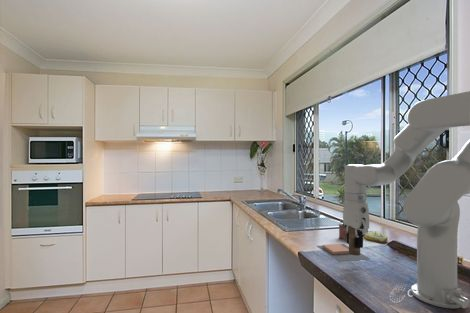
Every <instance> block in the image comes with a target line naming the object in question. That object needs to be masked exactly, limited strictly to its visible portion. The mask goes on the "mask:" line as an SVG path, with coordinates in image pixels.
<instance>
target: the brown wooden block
mask: <svg viewBox="0 0 470 313" xmlns="http://www.w3.org/2000/svg"><path fill="white" fill-rule="evenodd" d="M359 232H360V230H358V233H359ZM354 237H356V235H355V228H353V227H351V226H349V244H348V247H349V254H351V255H356V256H358V255H360V253H361V248H355V247H354Z"/></svg>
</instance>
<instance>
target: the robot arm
mask: <svg viewBox="0 0 470 313" xmlns="http://www.w3.org/2000/svg"><path fill="white" fill-rule="evenodd" d="M406 117H407V123H408V124H407V125H406V126H404V128H403V129H402V130H401V131H400V132H399V133H397V135H395V137H394V138H393V143H394V145H395V146H394V150H393V152H392V154H391V155H390V156H389V157H388V158H387V159H386V160H385V161H384V162H383V163H378V164H377V163H376V164H366V165H364V164H353V163H352V164H350V163H349V164H347V165H345V167H344V196H343V198H344V203H343V208H342V209H343V211H342V220H343V223H344V225H345V228H346V233H347V240H346V244H348V245H349V226H351V227H353V228H355V235H356V237H354V247H355V248H360V249H362V248H364V235H365V234H366V233H368V231H369V229H370V212H369V205H368V202H367V187H379V186H387V185H390V184H392V183H394V182H395V181H397V180H398V179H399V178H400V177H401V176H403V175H404V174H405V173H406V172H407V171H409V169H410V168H411V166H412V165H413V163H414V162H415V161H416V159H417V157H418V156H419V154H420V153H422V152H423V151H424V150H425V149H427V147H428V146H429V145H431V143H432V142H434V141H436V139H437V138H439V137H440V135H441V136H442V134H443V133H444V132H445V131H447V129H449V128H457V127H458V128H459V127H467V126H468V127H469V126H470V90H468V91H465V92H464V91H463V92H458V93H453V94H448V95H443V96H442V95H441V96H437V97H433V98H427V99H424V100H421V101H417V102H416V103H415V104H413V105H412V106H411V107H410V109H409V110H408V113H407V116H406ZM466 195H470V139H468V141H466V142H465V144H464V145H463V146H462V148H461V149H460V151H459V152H458V153H457V154H456V155H455V156H454V157H453V158H452V159H448V160H443V161H439V162H437V163H435V164H434V165H432V166H431V167H430V168H429V169H427V171H426V172H425V173H424V174H423V176H422V177H421V178H420V180H419V181H418V182H417V184H415V186H414V187H413V188H412V190H411V191H410V192H409V193H408V195H407V196H406V197H405V199H404V202H403V206H402V211H403V214H404V216H405V218H406V219H407V220H408V221H409V222H410V223H411V224H413V225H415V226H417V231H416V232H417V233H416V283H415V284H412V285H411V287H410V293H411V294H412V295H413V296H414V297H415V298H417V299H418V300H420V301H422V302H424V303H425V304H429V305H432V306H435V307H437V308H438V307H440V308H445V309H461V308H462V309H467V307H469V306H468V305H469V304H470V298H467V297H466V296H463V295H462V288H460V287H458V231H459V230H458V229H459V222H460V217H461V216H460V215H461V208H460V204H459V200H460V199H461V198H462V197H463V196H466ZM343 223H342V224H343ZM358 230H360V232H359V233H358Z"/></svg>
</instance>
